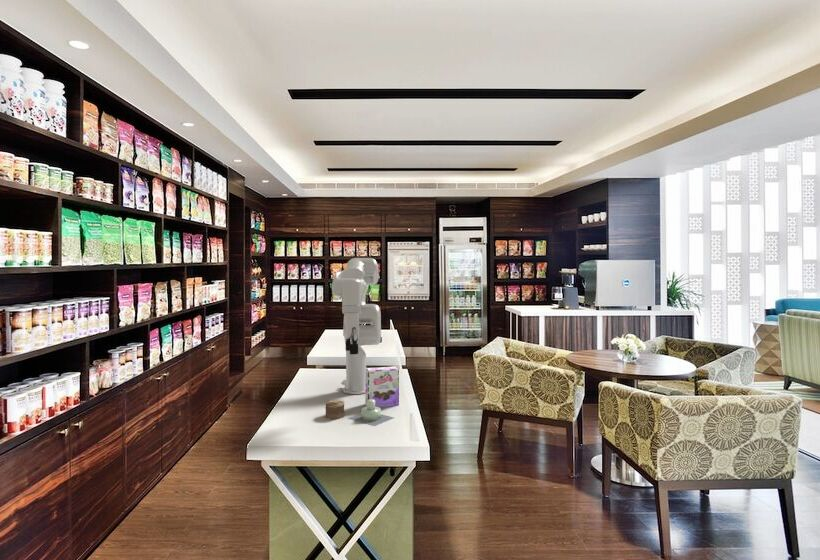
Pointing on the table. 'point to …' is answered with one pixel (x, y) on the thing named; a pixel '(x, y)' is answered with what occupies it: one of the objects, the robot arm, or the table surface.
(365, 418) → the jar
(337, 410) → the brown short round piece
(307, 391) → the table surface
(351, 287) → the robot arm
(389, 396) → the candy box
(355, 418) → the mat
